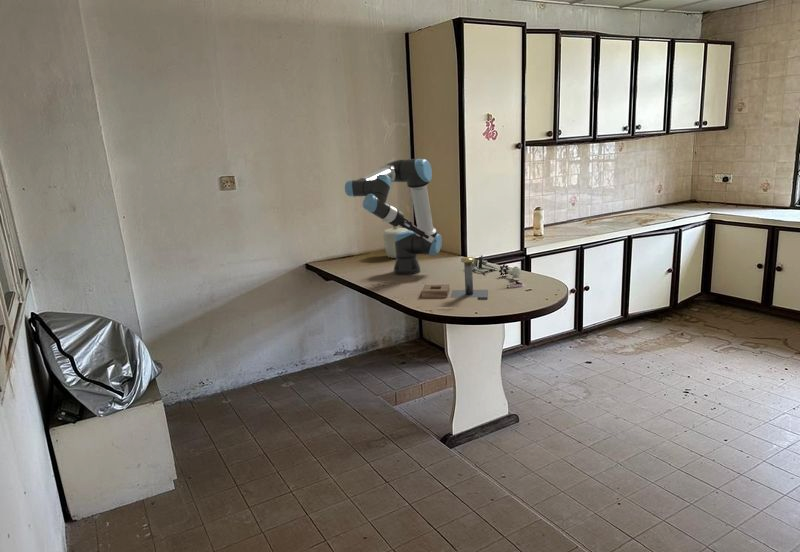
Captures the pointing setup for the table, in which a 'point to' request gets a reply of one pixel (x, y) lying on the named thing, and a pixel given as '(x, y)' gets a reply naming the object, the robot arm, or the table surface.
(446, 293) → the eye block
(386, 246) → the canister
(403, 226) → the robot arm
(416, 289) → the table surface
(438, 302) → the table surface
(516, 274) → the valve
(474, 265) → the bike brake
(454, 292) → the mat
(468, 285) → the brass topped pillar
